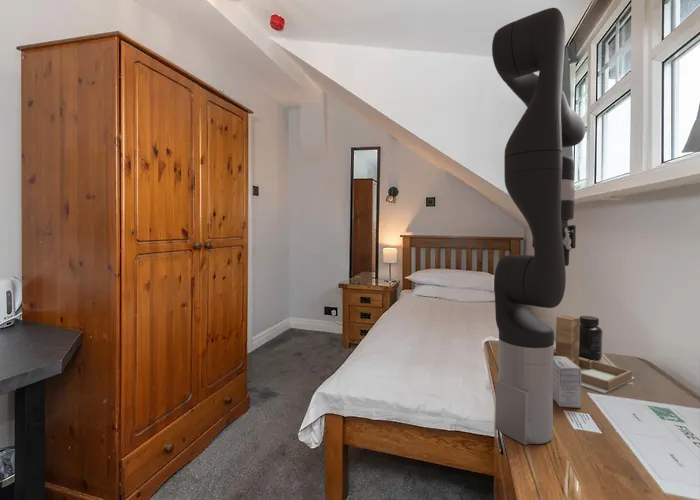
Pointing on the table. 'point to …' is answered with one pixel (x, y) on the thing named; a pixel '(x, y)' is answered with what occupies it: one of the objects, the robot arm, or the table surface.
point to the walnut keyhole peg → (568, 337)
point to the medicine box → (566, 383)
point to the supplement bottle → (590, 338)
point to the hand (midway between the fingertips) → (553, 266)
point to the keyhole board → (602, 375)
